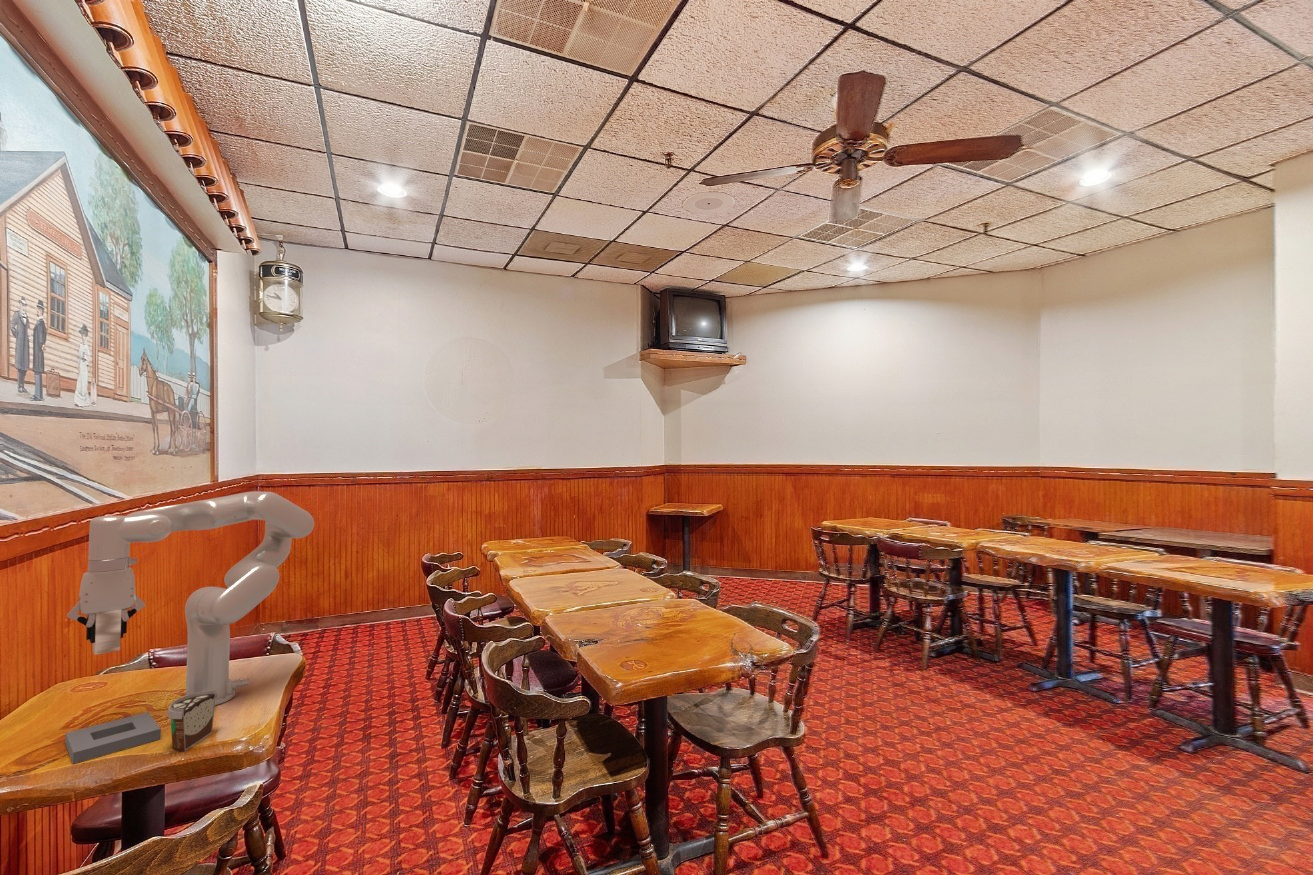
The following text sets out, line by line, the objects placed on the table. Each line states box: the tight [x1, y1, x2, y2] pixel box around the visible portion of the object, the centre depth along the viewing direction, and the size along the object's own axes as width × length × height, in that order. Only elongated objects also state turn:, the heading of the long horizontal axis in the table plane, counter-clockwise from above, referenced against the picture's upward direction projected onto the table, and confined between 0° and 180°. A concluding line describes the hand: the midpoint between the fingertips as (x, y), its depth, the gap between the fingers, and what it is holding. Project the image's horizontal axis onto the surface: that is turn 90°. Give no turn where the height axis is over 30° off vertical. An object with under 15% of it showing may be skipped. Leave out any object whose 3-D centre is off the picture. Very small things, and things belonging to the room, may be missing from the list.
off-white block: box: [91, 609, 121, 656], centre depth 144 cm, size 4×4×10 cm
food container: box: [166, 690, 217, 752], centre depth 139 cm, size 12×6×10 cm, turn 5°
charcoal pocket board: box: [64, 711, 162, 765], centre depth 139 cm, size 15×15×2 cm
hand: (106, 638), depth 144 cm, fingers closed on off-white block, 4 cm apart
